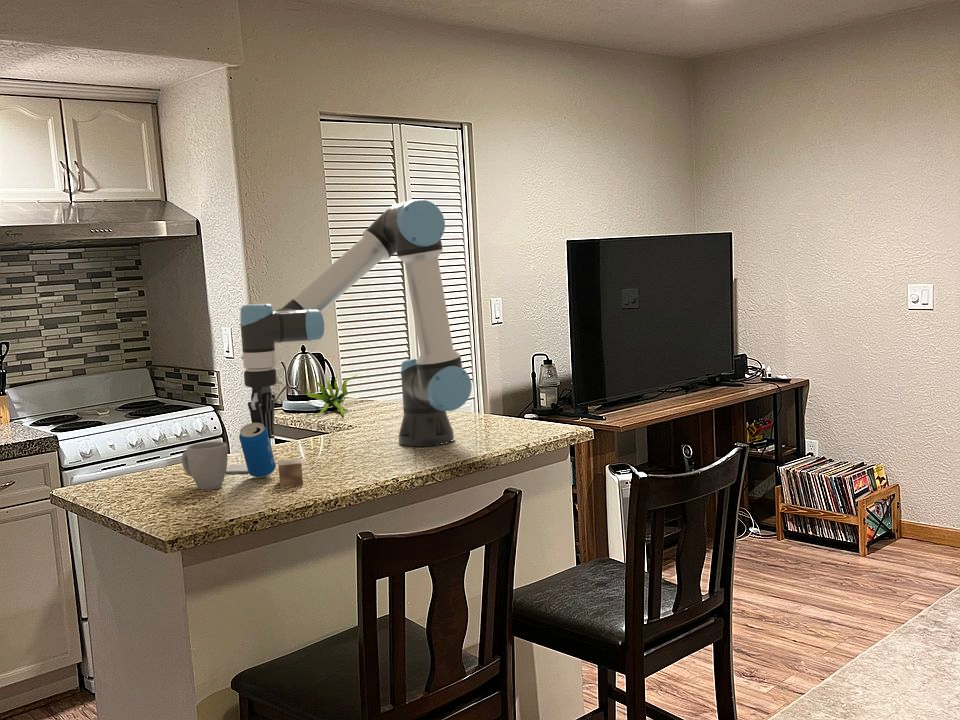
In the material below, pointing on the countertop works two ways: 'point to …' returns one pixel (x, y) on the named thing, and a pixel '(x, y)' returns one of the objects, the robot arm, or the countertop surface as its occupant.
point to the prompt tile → (237, 469)
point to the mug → (206, 464)
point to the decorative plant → (331, 395)
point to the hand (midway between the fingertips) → (266, 466)
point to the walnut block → (290, 472)
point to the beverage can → (257, 450)
